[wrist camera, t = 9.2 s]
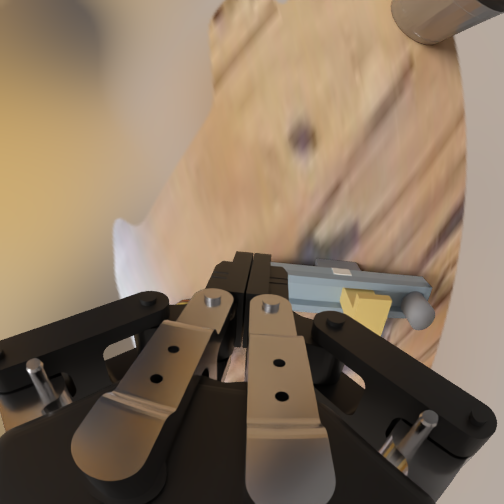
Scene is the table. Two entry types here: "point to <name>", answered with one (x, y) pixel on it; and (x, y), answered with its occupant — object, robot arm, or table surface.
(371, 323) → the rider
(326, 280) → the beam
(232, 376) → the table surface
